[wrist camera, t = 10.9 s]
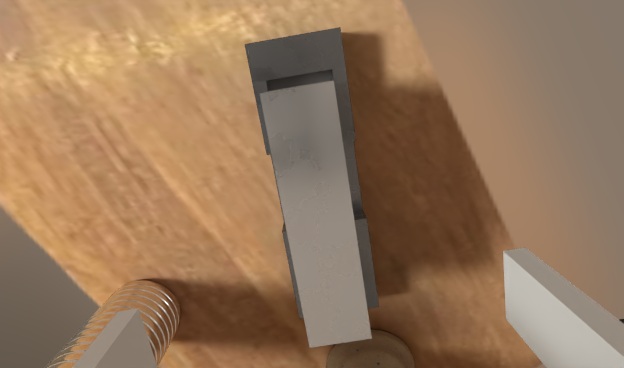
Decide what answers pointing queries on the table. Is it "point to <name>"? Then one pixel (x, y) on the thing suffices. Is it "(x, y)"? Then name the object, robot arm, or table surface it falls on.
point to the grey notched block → (317, 210)
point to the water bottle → (135, 295)
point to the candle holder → (371, 353)
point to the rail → (331, 67)
